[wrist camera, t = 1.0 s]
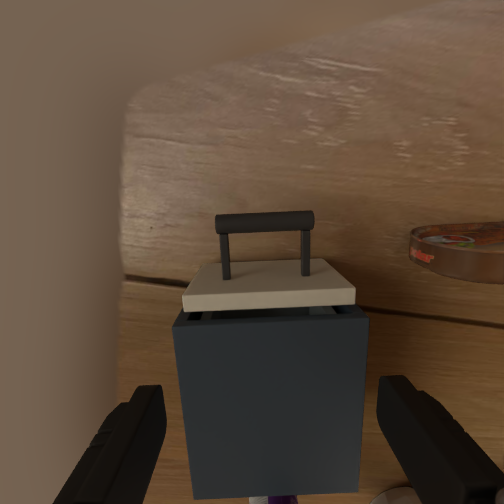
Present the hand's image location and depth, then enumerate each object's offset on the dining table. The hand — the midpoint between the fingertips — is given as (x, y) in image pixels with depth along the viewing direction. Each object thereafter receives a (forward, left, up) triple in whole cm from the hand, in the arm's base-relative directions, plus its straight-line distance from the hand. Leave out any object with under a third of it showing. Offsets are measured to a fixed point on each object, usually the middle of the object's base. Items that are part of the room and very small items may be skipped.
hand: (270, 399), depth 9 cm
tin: (-2, +21, -17) cm, 27 cm away
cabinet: (+8, +1, -16) cm, 18 cm away
